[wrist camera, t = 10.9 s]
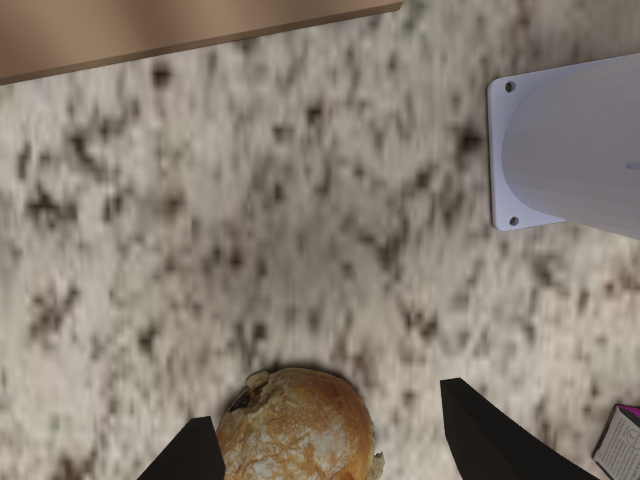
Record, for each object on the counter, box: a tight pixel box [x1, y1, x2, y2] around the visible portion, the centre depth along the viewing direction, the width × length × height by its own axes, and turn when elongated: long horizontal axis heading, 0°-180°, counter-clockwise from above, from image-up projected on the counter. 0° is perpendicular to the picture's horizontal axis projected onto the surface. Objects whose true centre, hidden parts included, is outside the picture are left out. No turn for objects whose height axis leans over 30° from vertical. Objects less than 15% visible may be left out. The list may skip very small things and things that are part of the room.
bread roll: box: [216, 367, 385, 480], centre depth 21 cm, size 10×10×8 cm
